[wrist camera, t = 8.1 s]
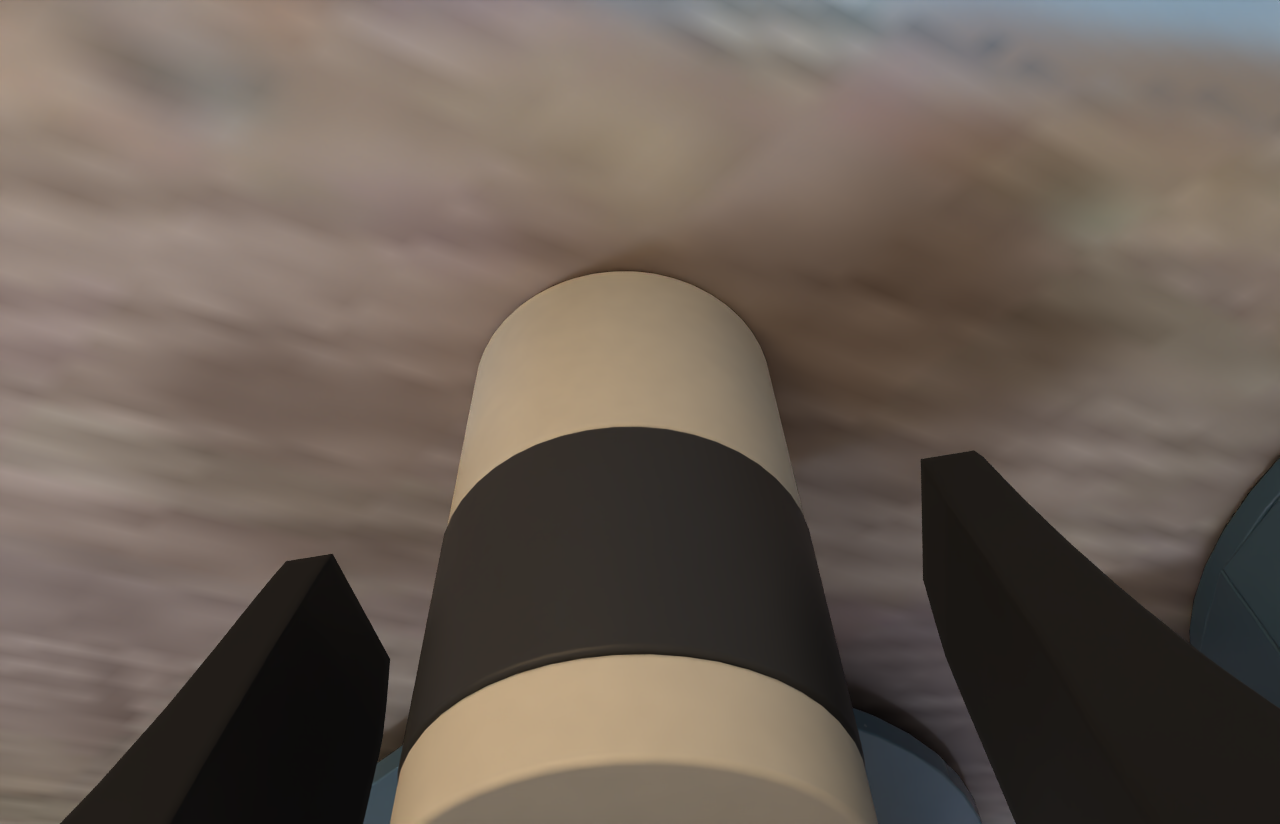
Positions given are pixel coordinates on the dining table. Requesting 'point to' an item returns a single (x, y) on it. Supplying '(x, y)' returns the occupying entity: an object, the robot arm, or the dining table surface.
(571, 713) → the cylinder
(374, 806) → the lid
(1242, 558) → the pot
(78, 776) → the dining table surface
